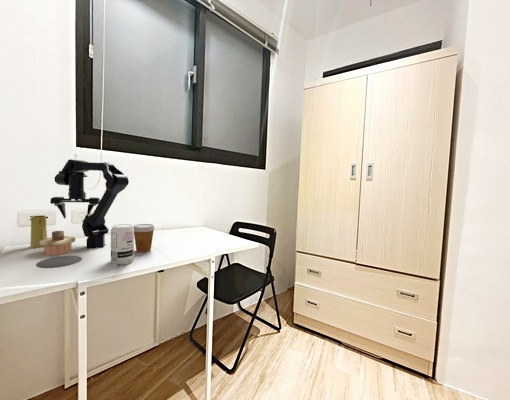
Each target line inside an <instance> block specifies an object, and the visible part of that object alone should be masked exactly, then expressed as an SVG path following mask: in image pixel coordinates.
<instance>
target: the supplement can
mask: <svg viewBox="0 0 510 400" xmlns="http://www.w3.org/2000/svg"><path fill="white" fill-rule="evenodd" d="M133 227H134V225H132V224H127V223H124V224H114V225H112V227H111V229H110V263H111V264H114V265H115V264H116V265H118V266H123V265H124V266H125V265H128V264H131V263H133V261H134V259H135V237H134V228H133Z"/></svg>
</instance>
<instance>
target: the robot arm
mask: <svg viewBox="0 0 510 400" xmlns="http://www.w3.org/2000/svg"><path fill="white" fill-rule="evenodd" d="M88 171H99V172H100V171H101V172H102V176H103V179H105V191H104V193H103V195H102V196H101V198H100V197H89V198H87V196H86V195H87V193H86V192H85V188H84V185H85V183H84V181H85V180H84V179H85V178H87V177H88V175H87V174H86V173H87V172H88ZM85 172H86V173H85ZM54 182H55V183H56V184H57V185H59V186H68V194H67V196H68V198H65V197H64V196H53V197H51V198H50V202H49V203H50V205H53V204H54V205H53V207H54V206H55V207H57V208H58V210H59V212H60V213H61V215H62V217H63V219H66V218H67V213H66V203H89V204H88V205H87V212H86V215H85V216H84V219H83V220H82V223H81V224H82V225H81V227H82V228H81V229H82V232H83V235H84V236H83V237H87V238H86V249H103V248H104V247H106V244H105V243H106V241H105V239H106V238H105V237H106V236H105V235H106V234H109V228H108V227H107V226H106V218H105V217H106V215H107V213H108V212H109V210H110V209H111V206H112V205H113V203H114V201H115V199H116V197H118V194H120V193H121V192H122V191H123V190H125V189H126V188H127V187H128V186H129V182H130V181H129V178H128V176H127V175H125V173H124V172H123V171H122V170H120V169H119V168H117V166H115V164H114V163H112V162H105V161H104V162H89V161H87V160H86V161H85V160H80V159H79V160H78V159H71V158H70V159H68V160H67V162H65V165H63V168H61V170H59V171H58V173H56V174H55V176H54ZM95 206H96V207H95ZM94 207H95V209H94ZM93 209H94V211H93V213H92V210H93Z"/></svg>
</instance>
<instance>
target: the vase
mask: <svg viewBox="0 0 510 400" xmlns="http://www.w3.org/2000/svg"><path fill="white" fill-rule="evenodd" d="M47 230H48V229H47V216H46V215H31V216H30V247H29V248H30V249H42V248H43V249H44V245H40V240H43V239H46V238H48V231H47Z"/></svg>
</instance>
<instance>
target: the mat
mask: <svg viewBox="0 0 510 400" xmlns="http://www.w3.org/2000/svg"><path fill="white" fill-rule="evenodd" d="M82 260H83V257H82V256H78V255H62V256H59V255H58V256H55V257H54V256H53V257H48V258H45V259H43V260H40V261H38V262H37V263H36V264H35V267H36V268H40V269H55V268H57V269H58V268H63V267H68V266H71V265H72V266H73V265H75V264H78V263H80V262H81V261H82Z"/></svg>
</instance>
